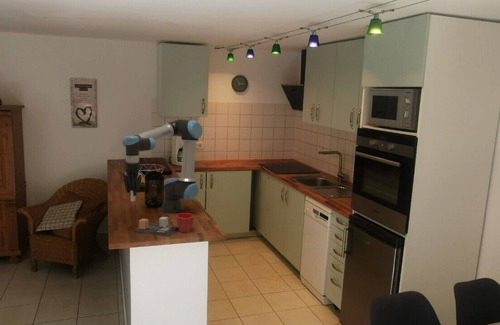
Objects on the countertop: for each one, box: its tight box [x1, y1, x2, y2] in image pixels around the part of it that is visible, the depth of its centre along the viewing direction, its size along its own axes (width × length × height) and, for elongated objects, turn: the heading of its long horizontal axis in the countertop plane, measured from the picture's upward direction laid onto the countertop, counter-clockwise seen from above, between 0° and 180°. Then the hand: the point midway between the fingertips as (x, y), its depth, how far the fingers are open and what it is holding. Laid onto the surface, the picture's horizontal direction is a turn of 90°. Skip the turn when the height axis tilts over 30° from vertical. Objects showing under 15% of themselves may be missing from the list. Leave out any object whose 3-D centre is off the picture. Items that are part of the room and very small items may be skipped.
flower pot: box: [175, 212, 195, 233], centre depth 255 cm, size 11×11×10 cm
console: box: [135, 222, 179, 237], centre depth 254 cm, size 12×22×2 cm, turn 72°
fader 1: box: [138, 218, 149, 229], centre depth 252 cm, size 4×4×5 cm
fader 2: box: [158, 216, 169, 227], centre depth 256 cm, size 4×4×5 cm
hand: (133, 200), depth 251 cm, fingers closed
